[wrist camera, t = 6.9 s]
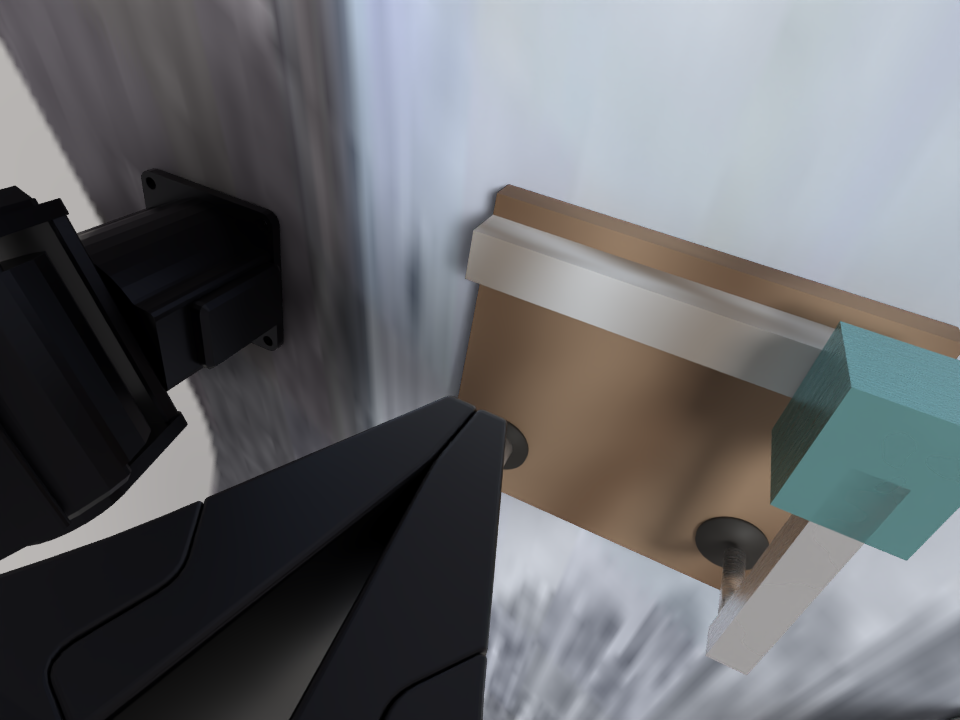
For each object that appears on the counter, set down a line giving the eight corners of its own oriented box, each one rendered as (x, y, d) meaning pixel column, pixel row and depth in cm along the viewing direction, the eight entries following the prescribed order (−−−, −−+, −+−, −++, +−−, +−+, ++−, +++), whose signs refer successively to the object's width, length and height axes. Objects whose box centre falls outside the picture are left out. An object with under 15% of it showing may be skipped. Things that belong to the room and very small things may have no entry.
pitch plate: (455, 451, 26) (403, 525, 22) (508, 184, 19) (446, 230, 15) (758, 585, 23) (754, 694, 19) (958, 327, 16) (1008, 425, 12)
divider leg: (688, 542, 21) (671, 647, 18) (836, 298, 15) (851, 387, 12) (774, 580, 20) (773, 696, 17) (964, 339, 15) (1018, 446, 11)
